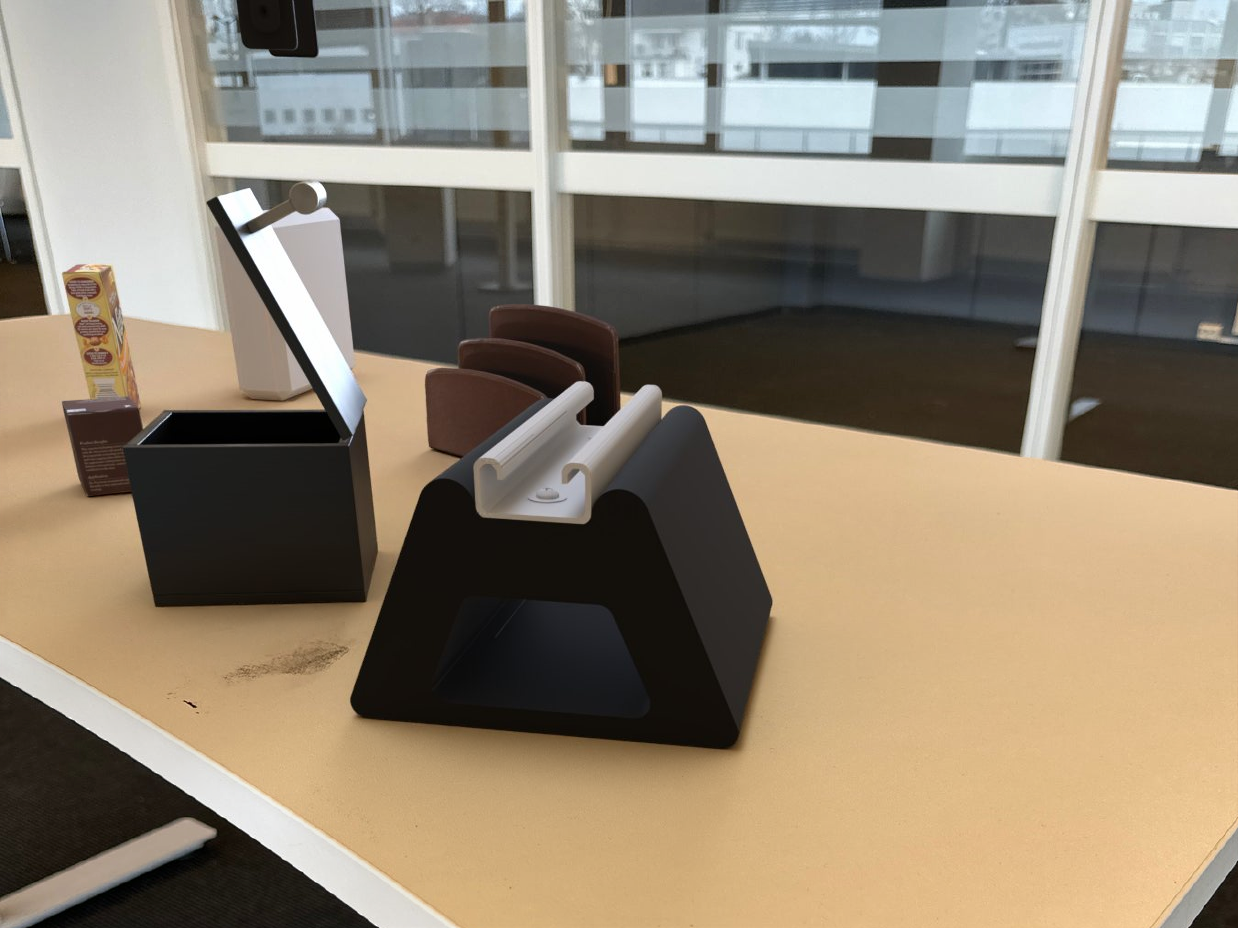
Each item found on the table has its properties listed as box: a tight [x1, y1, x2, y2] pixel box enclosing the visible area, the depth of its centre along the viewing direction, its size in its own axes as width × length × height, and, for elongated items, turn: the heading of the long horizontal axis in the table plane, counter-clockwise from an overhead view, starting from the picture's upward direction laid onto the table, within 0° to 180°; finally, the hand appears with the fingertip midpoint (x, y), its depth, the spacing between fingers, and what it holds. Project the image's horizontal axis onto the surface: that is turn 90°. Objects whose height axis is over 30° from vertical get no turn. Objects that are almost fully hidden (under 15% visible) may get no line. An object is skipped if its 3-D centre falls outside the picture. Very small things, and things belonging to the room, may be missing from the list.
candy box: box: [61, 263, 142, 409], centre depth 137 cm, size 9×4×15 cm, turn 13°
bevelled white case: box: [214, 207, 356, 402], centre depth 154 cm, size 21×8×20 cm, turn 169°
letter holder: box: [424, 303, 622, 458], centre depth 123 cm, size 10×20×14 cm, turn 45°
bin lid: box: [205, 179, 368, 440], centre depth 83 cm, size 15×13×6 cm
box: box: [61, 396, 144, 497], centre depth 112 cm, size 6×6×7 cm
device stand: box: [349, 381, 774, 750], centre depth 75 cm, size 22×22×15 cm
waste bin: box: [123, 408, 379, 607], centre depth 89 cm, size 15×13×11 cm
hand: (283, 52), depth 77 cm, fingers open, 9 cm apart
